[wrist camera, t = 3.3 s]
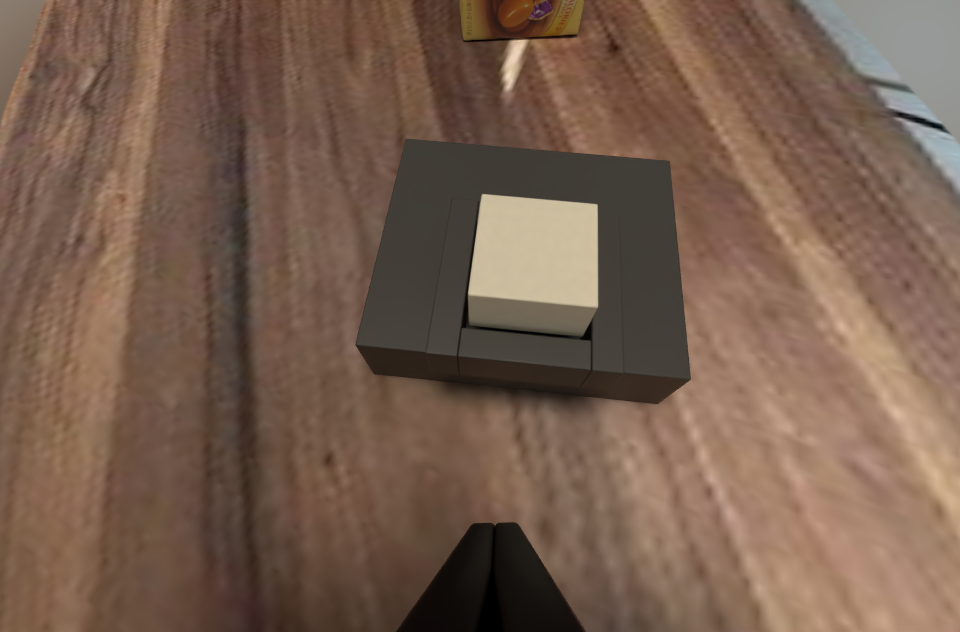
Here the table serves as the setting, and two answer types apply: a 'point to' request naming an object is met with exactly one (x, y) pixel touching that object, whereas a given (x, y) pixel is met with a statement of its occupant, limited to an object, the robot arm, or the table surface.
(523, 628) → the robot arm
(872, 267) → the table surface
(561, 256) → the cream block
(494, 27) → the candy box
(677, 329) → the stepped base
